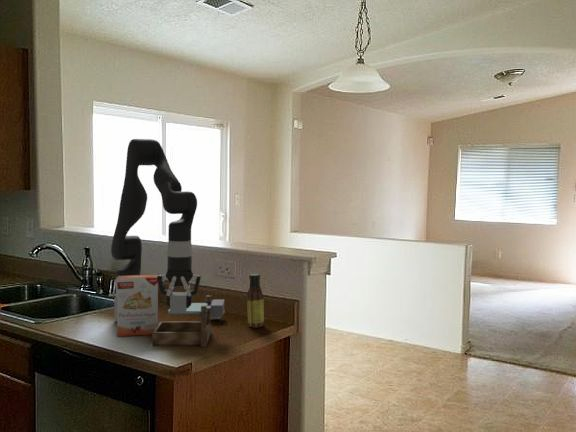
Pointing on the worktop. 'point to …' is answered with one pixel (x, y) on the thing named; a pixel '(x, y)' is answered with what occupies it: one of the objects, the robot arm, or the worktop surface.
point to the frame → (185, 330)
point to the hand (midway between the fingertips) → (179, 306)
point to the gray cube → (178, 301)
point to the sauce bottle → (255, 302)
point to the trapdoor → (215, 308)
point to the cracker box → (137, 305)
